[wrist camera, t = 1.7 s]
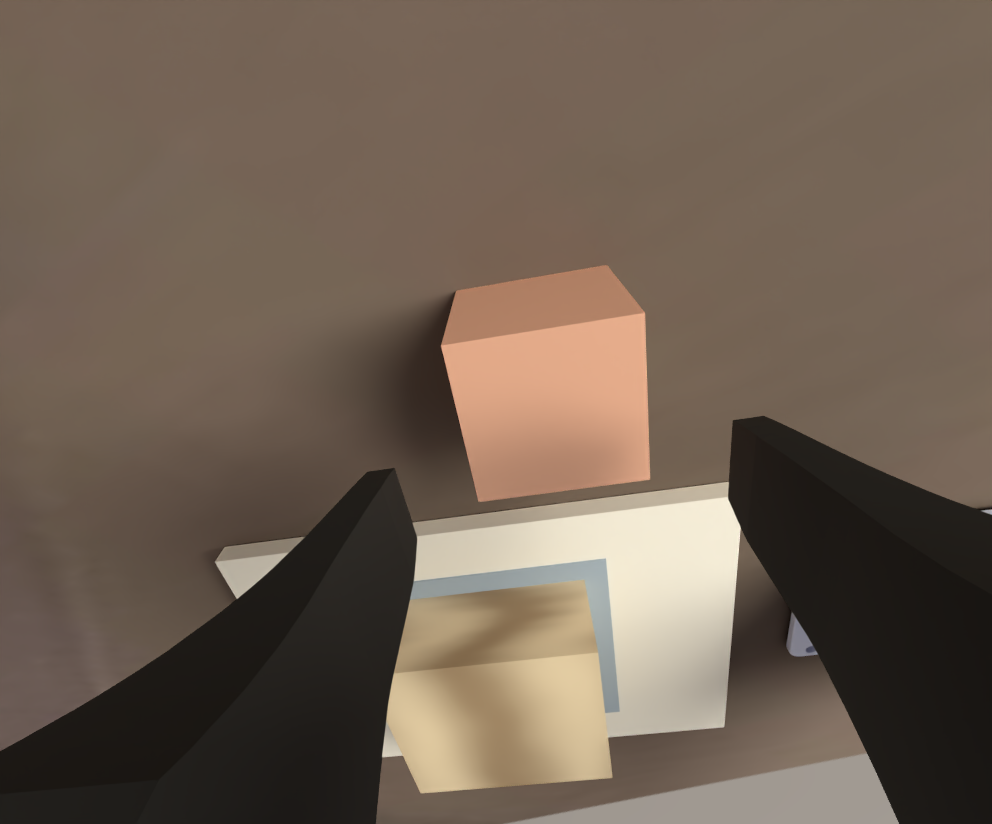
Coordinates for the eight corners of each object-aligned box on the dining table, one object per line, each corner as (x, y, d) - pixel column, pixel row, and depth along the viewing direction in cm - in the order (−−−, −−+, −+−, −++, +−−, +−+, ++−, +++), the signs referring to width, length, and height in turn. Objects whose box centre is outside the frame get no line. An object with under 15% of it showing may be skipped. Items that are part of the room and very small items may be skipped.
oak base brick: (584, 579, 22) (598, 652, 19) (599, 702, 26) (612, 777, 23) (383, 602, 23) (365, 676, 20) (429, 718, 27) (420, 793, 24)
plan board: (733, 481, 20) (744, 496, 20) (717, 710, 28) (724, 729, 27) (224, 546, 22) (213, 563, 22) (338, 744, 30) (334, 763, 29)
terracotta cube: (606, 264, 16) (644, 312, 12) (615, 398, 19) (650, 479, 14) (456, 290, 17) (440, 345, 13) (483, 418, 19) (478, 502, 15)
